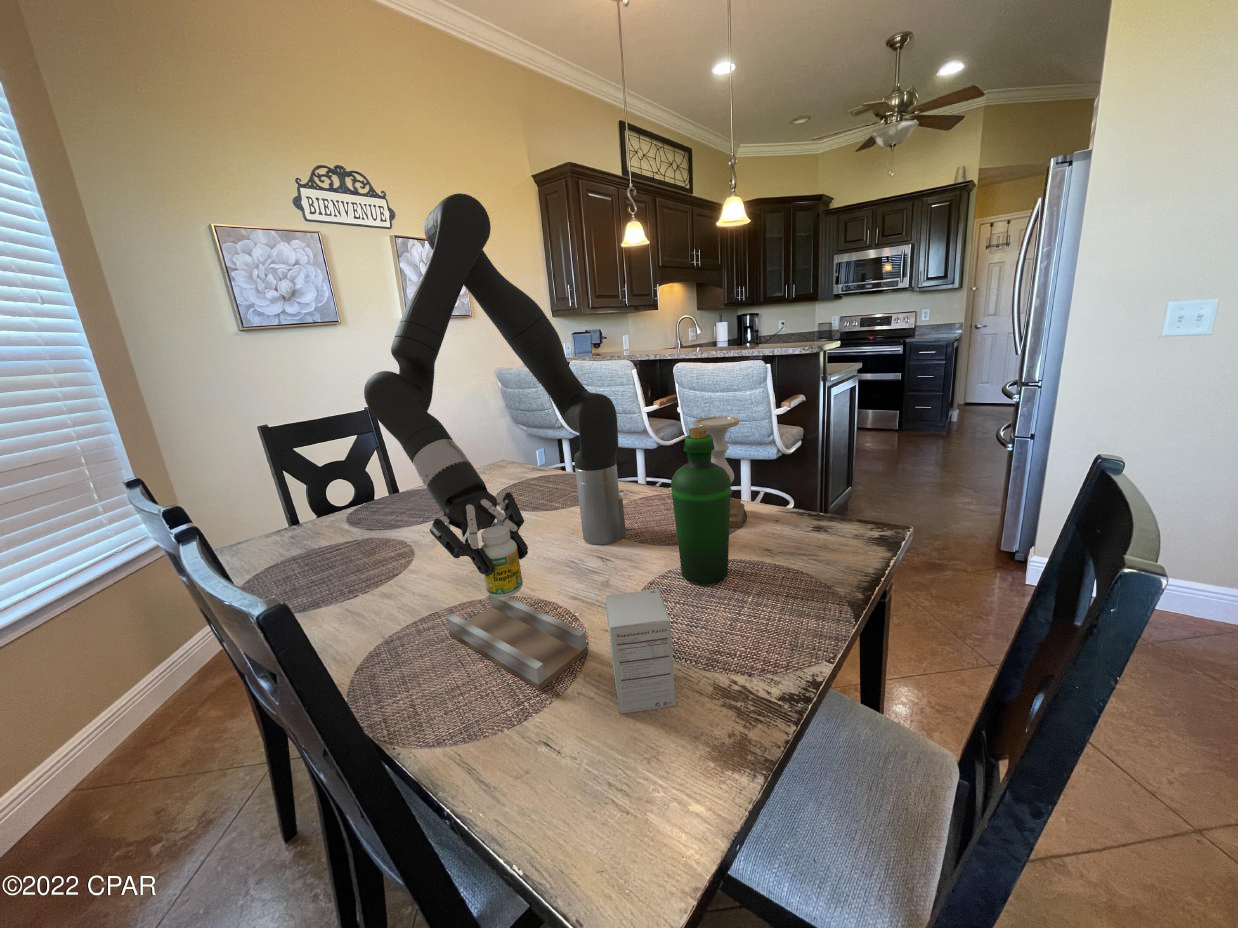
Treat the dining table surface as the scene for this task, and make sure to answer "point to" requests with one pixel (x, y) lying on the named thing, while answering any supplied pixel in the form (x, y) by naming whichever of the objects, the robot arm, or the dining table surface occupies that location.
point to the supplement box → (641, 650)
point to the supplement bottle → (502, 562)
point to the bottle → (702, 511)
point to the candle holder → (723, 458)
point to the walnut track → (521, 640)
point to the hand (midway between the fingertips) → (508, 563)
